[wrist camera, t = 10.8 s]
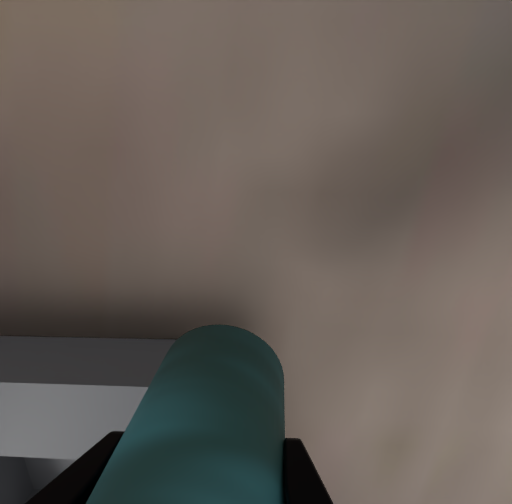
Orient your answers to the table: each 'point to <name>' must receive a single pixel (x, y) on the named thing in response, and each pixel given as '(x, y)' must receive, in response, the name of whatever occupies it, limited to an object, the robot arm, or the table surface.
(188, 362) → the teal peg
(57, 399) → the socket block
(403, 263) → the table surface
